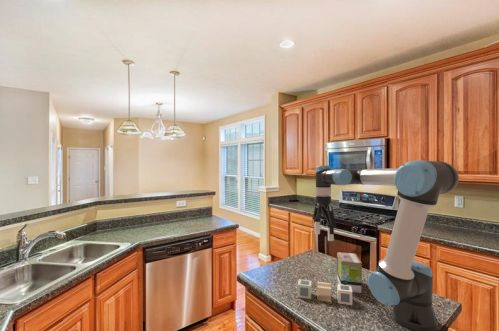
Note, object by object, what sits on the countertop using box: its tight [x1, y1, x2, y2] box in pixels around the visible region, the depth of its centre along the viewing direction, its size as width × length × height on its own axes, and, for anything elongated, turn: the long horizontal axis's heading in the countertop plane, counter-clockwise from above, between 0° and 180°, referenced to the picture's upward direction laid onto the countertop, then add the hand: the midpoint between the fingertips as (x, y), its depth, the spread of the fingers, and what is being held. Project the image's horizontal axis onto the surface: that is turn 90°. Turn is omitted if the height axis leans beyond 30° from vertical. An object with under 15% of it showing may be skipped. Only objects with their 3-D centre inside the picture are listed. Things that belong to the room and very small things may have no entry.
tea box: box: [336, 251, 363, 294], centre depth 131 cm, size 15×10×15 cm, turn 168°
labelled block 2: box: [336, 283, 353, 306], centre depth 115 cm, size 6×6×6 cm
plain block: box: [316, 281, 332, 303], centre depth 118 cm, size 6×6×6 cm
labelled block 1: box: [297, 278, 313, 300], centre depth 120 cm, size 6×6×6 cm
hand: (323, 237), depth 129 cm, fingers open, 13 cm apart
